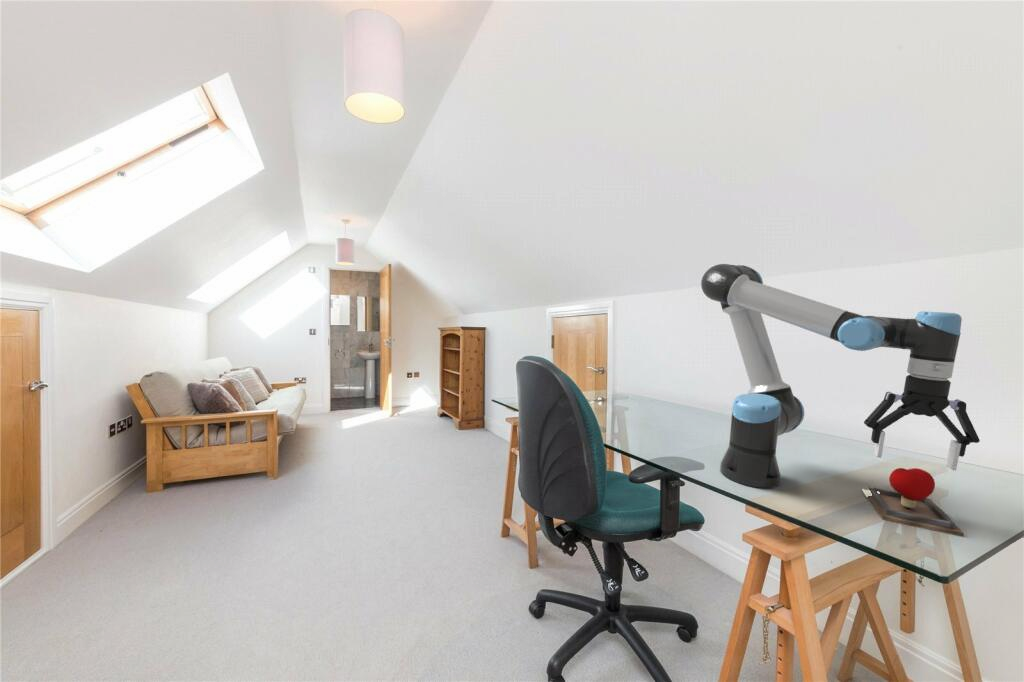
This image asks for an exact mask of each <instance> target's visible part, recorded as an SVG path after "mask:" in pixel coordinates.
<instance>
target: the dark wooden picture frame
mask: <svg viewBox="0 0 1024 682" xmlns="http://www.w3.org/2000/svg"><path fill="white" fill-rule="evenodd" d="M868 489H869V490H870V491H871V493H872V496H868V497H867V498H866V500H867V501H868V502H869V503H870V504H871V506H872V508H873V509H874V510H875V511H876V513H877V514H878V515H879V517H880V518H881V520H884V521H887V522H893V523H897V524H901V525H902V524H903V525H907V526H912V527H916V528H921V529H927V530H932V531H935V532H940V533H945V534H949V535H950V534H951V535H955V536H959V537H965V532H964V531H963V530H962V529H961V528H960V527H959V526H958V525H957V524H956V523H955V521H953V520H952V518H950V516H948V515H947V514H946V513H945V512H944V511H943V510H942V509H941V508H940V507H939V506H938V505H937V504H936V503H934V501H933V500H932V499H930V498H929V497H927V498H925V499H923V500H920V501H916V507H915V508H911V509H907V508H905V507H904V506H903V505H902V504H901V496H902V494H900V493H898V492H897V491H895V490H889V489H885V488H880V487H870V486H869V487H868ZM877 491H879V492H880V494H878V493H877Z"/></svg>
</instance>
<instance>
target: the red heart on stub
mask: <svg viewBox="0 0 1024 682" xmlns="http://www.w3.org/2000/svg"><path fill="white" fill-rule="evenodd" d="M888 481H889V485H890V487H891V488H892V489H893V491H896V492H898V493H900V494H902V496H901V504H902V505H903V506H904V507H905V508H907V509H911V508H915V507H916V501H920V500H923V499H925V498H929V497H930V495H932V494H933V492H934V490H935V487H936V482H935V479H934V477H933V475H932V474H931V473H929V472H928V471H927V470H924V469H922V468H916V467H915V468H913V467H912V468H909V469H906V468H903V467H898V468H896V469H894V470H892V472H891V473H890V475H889V478H888Z"/></svg>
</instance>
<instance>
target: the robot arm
mask: <svg viewBox="0 0 1024 682" xmlns="http://www.w3.org/2000/svg"><path fill="white" fill-rule="evenodd" d="M700 282H701V283H700V285H701V289H702V292H703V294H704V295H705V296H706V297H707V298H709V299H710V300H712V301H714V302H718V303H720V307H721V310H722V312H723V313H726V314H727V315H729V318H730V322H731V325H732V328H733V331H734V334H735V338H736V342H737V345H738V348H739V351H740V354H741V358H742V360H743V361H742V362H743V365H744V368H745V371H746V373H747V377H748V381H749V384H750V389H748V391H747V393H743V394H739V395H738V396H737V395H736V397H735V398H734V399H733V403H732V407H731V422H730V431H729V432H730V433H729V443H728V447H727V449H726V451H725V453H724V455H723V458H722V459H721V460H720V467H719V472H720V473H721V474H722V475H723V476H724V477H726V478H727V479H730V480H731V481H733V482H736V483H737V484H742V485H745V486H748V487H754V488H759V489H760V488H762V489H767V488H769V489H771V488H776V487H778V486H779V485H780V484H781V472H780V468H779V464H778V460H777V456H776V453H777V444H778V437H779V436H782V435H783V434H787V433H790V432H792V431H794V430H795V429H797V427H799V426H800V425H801V423H802V422H803V421H804V417H805V408H804V405H803V404H802V401H801V400H800V399H799V398H798V397H797V396H794V393H793V391H792V387H791V385H790V384H787V382H784V381H783V378H782V376H781V373H780V369H779V366H778V362H777V360H776V356H775V354H774V350H773V346H772V344H771V340H770V337H769V334H768V332H767V328H766V326H765V321H764V319H763V315H764V316H765V315H766V316H768V317H770V318H774V319H776V320H779V321H782V322H785V323H787V324H790V325H792V326H796V327H799V328H802V330H803V329H804V330H806V331H809V332H812V333H815V334H818V335H819V336H822V337H826V338H829V339H830V340H833V341H836V342H839V343H840V344H841V345H842V346H844V347H845V348H847V349H849V350H854V351H858V352H863V351H864V352H865V351H869V350H873V349H876V348H881V347H882V348H889V349H890V348H891V349H898V350H899V349H901V350H910V354H909V358H908V363H907V368H906V372H907V376H905V382H904V387H903V392H902V393H901V394H897V393H893V392H891V391H886V392H885V395H884V398H883V400H882V401H880V403H879V404H878V406H876V408H874V410H873V411H872V412H871V413H870V414H869V415H868V417H867V418H866V419H865V420H864V421H863V423H864V425H865V426H866V427H868V428H870V429H871V432H872V433H871V437H870V440H871V442H872V443H873V444H875V445H874V451H873V454H874V455H875V457H876V458H879V459H881V458H882V456H883V450H884V443H885V439H886V432H885V431H884V430H885V429H886V428H888V427H890V426H891V425H892V424H894V423H896V422H897V421H899V420H900V419H902V418H903V417H905V416H908V415H910V414H911V413H912V414H914V415H915V416H926V417H931V418H932V417H934V416H935V417H936V418H937V419H938V420H939V421H940V422H941V424H942V425H943V426H944V427H945V428H946V429H947V431H949V432H950V434H951V435H952V436H953V437H954V438H955V439H951V440H950V443H949V449H948V455H947V458H946V463H945V466H946V467H947V468H949V470H951V471H957V467H958V463H959V457H962V458H963V457H964V456H965V454H966V451H967V446H969V445H970V444H972V443H974V444H978V443H979V442H981V439H980V438H979V435H978V433H977V431H976V429H975V427H974V425H973V422H972V420H971V419H970V417H969V415H968V413H967V403H966V402H965V401H963V400H961V399H955V400H949V398H948V397H949V394H950V389H951V385H952V384H951V383H952V382H951V381H950V379H951V378H952V377H953V373H954V367H955V361H956V355H957V352H958V347H959V343H960V337H961V333H962V332H961V328H962V321H963V320H962V316H961V315H960V314H958V313H956V312H942V311H941V312H940V311H925V310H924V311H918V312H917V314H916V316H915V317H914V318H900V317H899V318H896V317H889V316H888V317H887V316H886V317H885V316H874V315H862V314H859V313H856V312H850V311H848V310H846V309H842V308H840V307H836V306H833V305H829V304H826V303H822V302H821V301H820V302H819V301H817V300H814V299H812V298H811V299H810V298H807V297H804V296H801V295H798V294H796V293H792V292H788V291H785V290H783V289H779V288H776V287H773V286H770V285H766V284H764V281H763V277H762V275H760V273H759V272H758V271H757V270H756V269H754V268H752V267H750V266H747V265H740V264H737V265H736V264H729V263H720V264H715V265H713V266H711V267H710V268H708V269H707V270H706V271H705V272H704V274H703V276H702V277H701V281H700ZM762 314H763V315H762ZM898 401H901V403H902V404H901V405H899V406H898V407H897V408H896V409H894V410H893V411H892V412H890V413H889V414H887V415H885V414H886V413H887V412H888V410H889V409H891V407H892V406H893V405H894V404H895V403H897V402H898ZM948 407H950V408H951V409H952V410H953V412H954V414H955V416H956V417H957V420H958V422H959V424H960V426H961V429H962V430H963V433H964V434H963V433H962V432H961V431H960V430H959V429H958V427H957V426H956V425H955V424H954V423H953V421H952V420H950V418H949V416H948V415H947V414H946V413H945V412H944V410H945V409H947V408H948ZM884 415H885V417H883V416H884Z"/></svg>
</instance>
